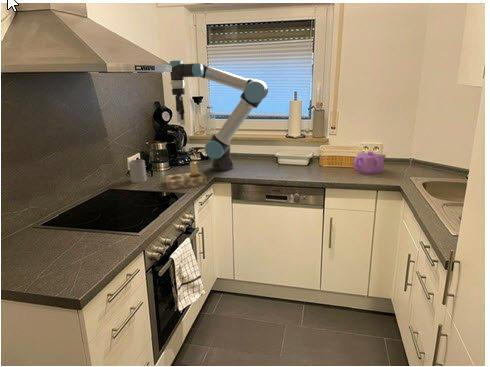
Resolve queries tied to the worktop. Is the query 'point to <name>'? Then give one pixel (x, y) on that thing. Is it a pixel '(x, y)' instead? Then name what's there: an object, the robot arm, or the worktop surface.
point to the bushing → (194, 169)
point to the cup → (137, 171)
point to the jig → (185, 180)
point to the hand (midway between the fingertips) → (181, 123)
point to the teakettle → (369, 163)
